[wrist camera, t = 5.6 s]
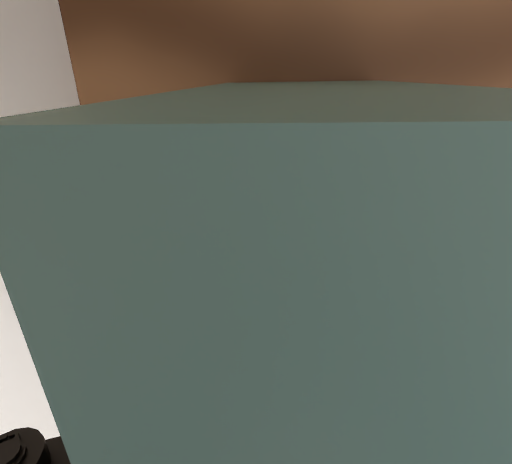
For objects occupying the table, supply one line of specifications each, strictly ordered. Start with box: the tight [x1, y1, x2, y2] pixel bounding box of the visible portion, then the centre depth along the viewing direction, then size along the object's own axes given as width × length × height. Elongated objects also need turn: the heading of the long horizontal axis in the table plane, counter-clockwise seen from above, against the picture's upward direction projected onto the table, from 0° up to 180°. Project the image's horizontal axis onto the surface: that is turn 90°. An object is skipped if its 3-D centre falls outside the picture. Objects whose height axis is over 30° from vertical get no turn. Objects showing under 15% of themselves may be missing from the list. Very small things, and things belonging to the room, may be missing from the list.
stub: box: [0, 81, 512, 464], centre depth 9 cm, size 10×5×11 cm, turn 1°
